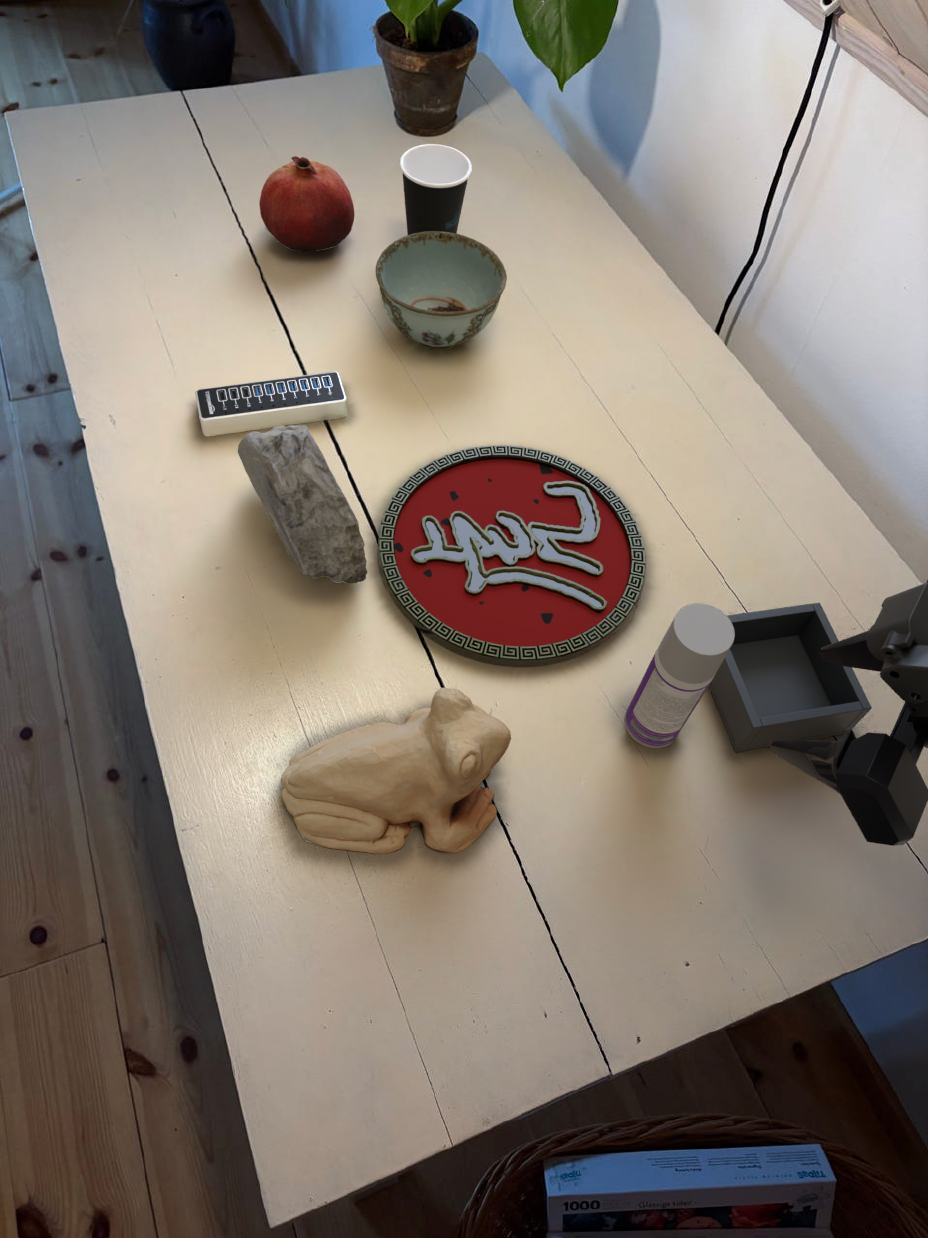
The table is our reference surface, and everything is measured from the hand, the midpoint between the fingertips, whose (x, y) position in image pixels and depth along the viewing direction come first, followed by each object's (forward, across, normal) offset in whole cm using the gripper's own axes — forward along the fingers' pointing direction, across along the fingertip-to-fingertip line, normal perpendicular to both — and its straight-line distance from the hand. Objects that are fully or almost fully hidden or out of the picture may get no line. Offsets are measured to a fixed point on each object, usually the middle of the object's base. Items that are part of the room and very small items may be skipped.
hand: (798, 699), depth 67 cm
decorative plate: (+29, -8, -10) cm, 32 cm away
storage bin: (+10, -10, +9) cm, 17 cm away
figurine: (+26, +17, -7) cm, 31 cm away
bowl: (+45, -29, -26) cm, 60 cm away
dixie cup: (+51, -41, -32) cm, 73 cm away
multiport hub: (+49, -9, -30) cm, 59 cm away
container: (+15, 0, +4) cm, 16 cm away
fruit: (+59, -33, -41) cm, 79 cm away
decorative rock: (+40, +2, -21) cm, 46 cm away
